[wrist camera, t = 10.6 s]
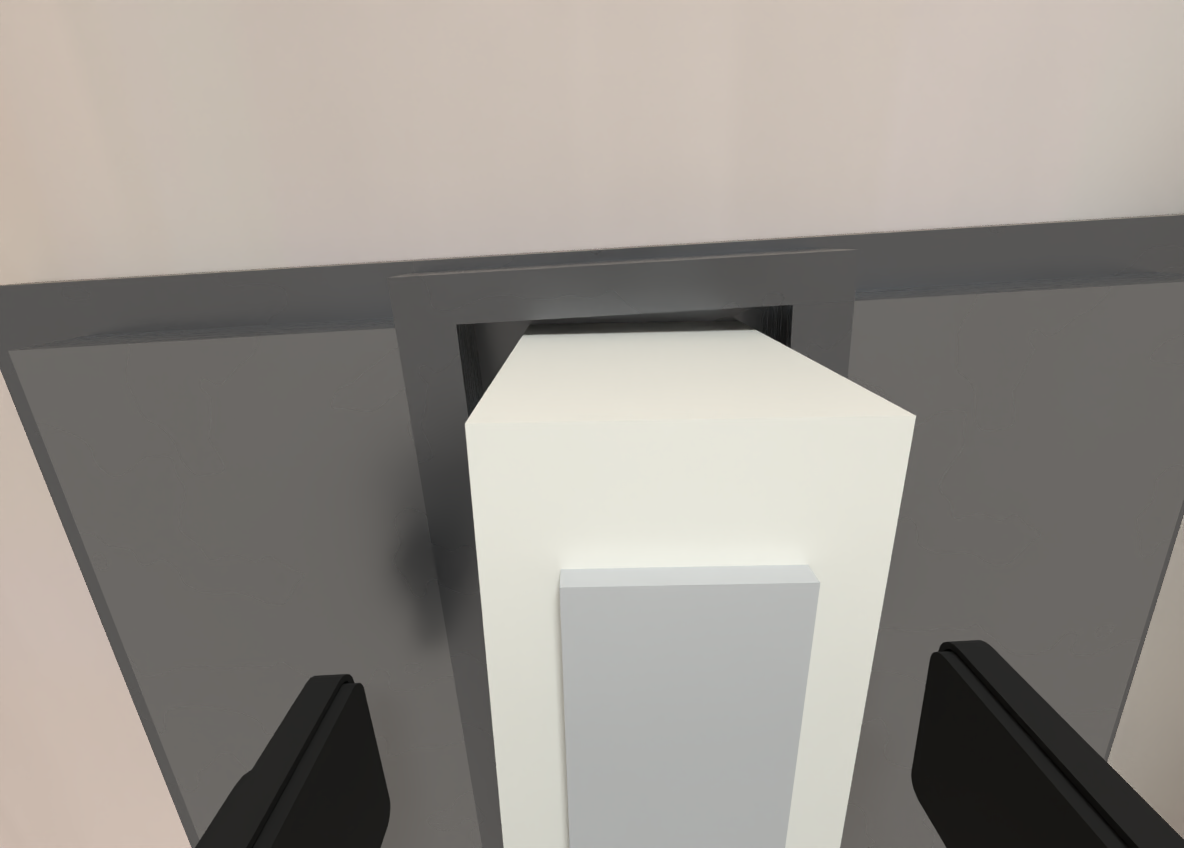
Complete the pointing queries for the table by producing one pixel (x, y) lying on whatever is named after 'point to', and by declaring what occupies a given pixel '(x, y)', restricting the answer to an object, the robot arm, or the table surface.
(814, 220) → the table surface
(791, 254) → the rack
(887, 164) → the table surface
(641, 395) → the blanking panel
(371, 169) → the table surface
